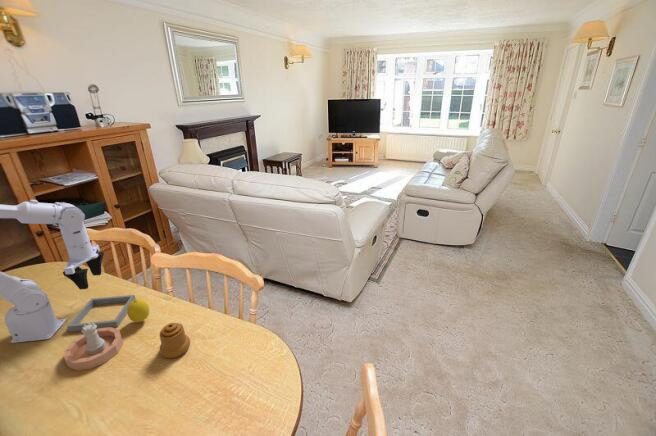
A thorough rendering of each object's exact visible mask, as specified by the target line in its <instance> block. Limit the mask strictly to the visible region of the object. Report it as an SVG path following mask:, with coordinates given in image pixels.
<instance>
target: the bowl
mask: <svg viewBox="0 0 656 436" xmlns="http://www.w3.org/2000/svg"><path fill="white" fill-rule="evenodd" d="M96 330H97V334H98V336H99V337H100V338H102V339H103V340H104V341H105V343H106V347H105V348H104V350H103V351H101V352H100V353H98V354H95V355H89V354H87V353H86V350H85V348H86V344H87V340H86V337H85V336H84V335H85V334H84V333H82V334H81V335H80V336H79V337H77V338H75V339H74V340H73V341H71V342H70V343H69V345H68V346H67V347H66V348H65V350H64V352H63V353H64V354H63V355H64V357H63V358H64V362H65V363H66V366H67V367H68V368H69V369H72V370H74V371H83V370H84V371H85V370H91V369H94V368H95V367H96V368H97V367H98V366H101V365H103V364H106V363H107V362H108V361H110V360H111V359H112V358H113V357H114V356H117V355H118V353H119V352H120V350H121V348H123V345H124V342H123V338H122V335H121V331H120V330H119V329H117V328H116V327H108V328H98V329H96Z"/></svg>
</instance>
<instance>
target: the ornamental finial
mask: <svg viewBox="0 0 656 436" xmlns="http://www.w3.org/2000/svg"><path fill="white" fill-rule="evenodd" d="M159 339H160V344H159V345H160V346H159V353H160V355H161V356H162V357H164V358H166V359H174V358H178V357H180V356H182V355H183V354H185V353H186V352H187V350H188V349H189V348H190V345H191V340H190V337H189V336H188V335H187V334H186V333H185V328H184V325H183V324H181V323H179V322H170V323H167V324H166V325H164V327H162V328H161V330H160V331H159Z"/></svg>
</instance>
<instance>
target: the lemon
mask: <svg viewBox="0 0 656 436" xmlns="http://www.w3.org/2000/svg"><path fill="white" fill-rule="evenodd" d="M126 315H127V316H128V318H129V319H130V320H131V321H132V322H135V323H142V322H143V321H145V320H146V319H147V318H148V317H149V315H150V307H149V305H148V303H147V301H146V300H145V299H140V298H138V299H137V298H136V299H135V300H134V301H132V302H131V303H130V304H129V305H128V308H127V314H126Z"/></svg>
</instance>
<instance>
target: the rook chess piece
mask: <svg viewBox="0 0 656 436" xmlns="http://www.w3.org/2000/svg"><path fill="white" fill-rule="evenodd" d="M86 323H87V324H88V325H84V327H82V331H80V332H81V333H82V334H85V335H84V336H85V337H86V340H87V344H86V348H85V350H86V353H87V354H89V355H95V354H98V353H100V352H101V351H103V350H104V348H105V347H106V343H105V341H104V340H103V339H102V338H100V337H99V336H98V334H97V330H96V328H97V325H95V324H94V323H91V324H90V323H89V322H86Z"/></svg>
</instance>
